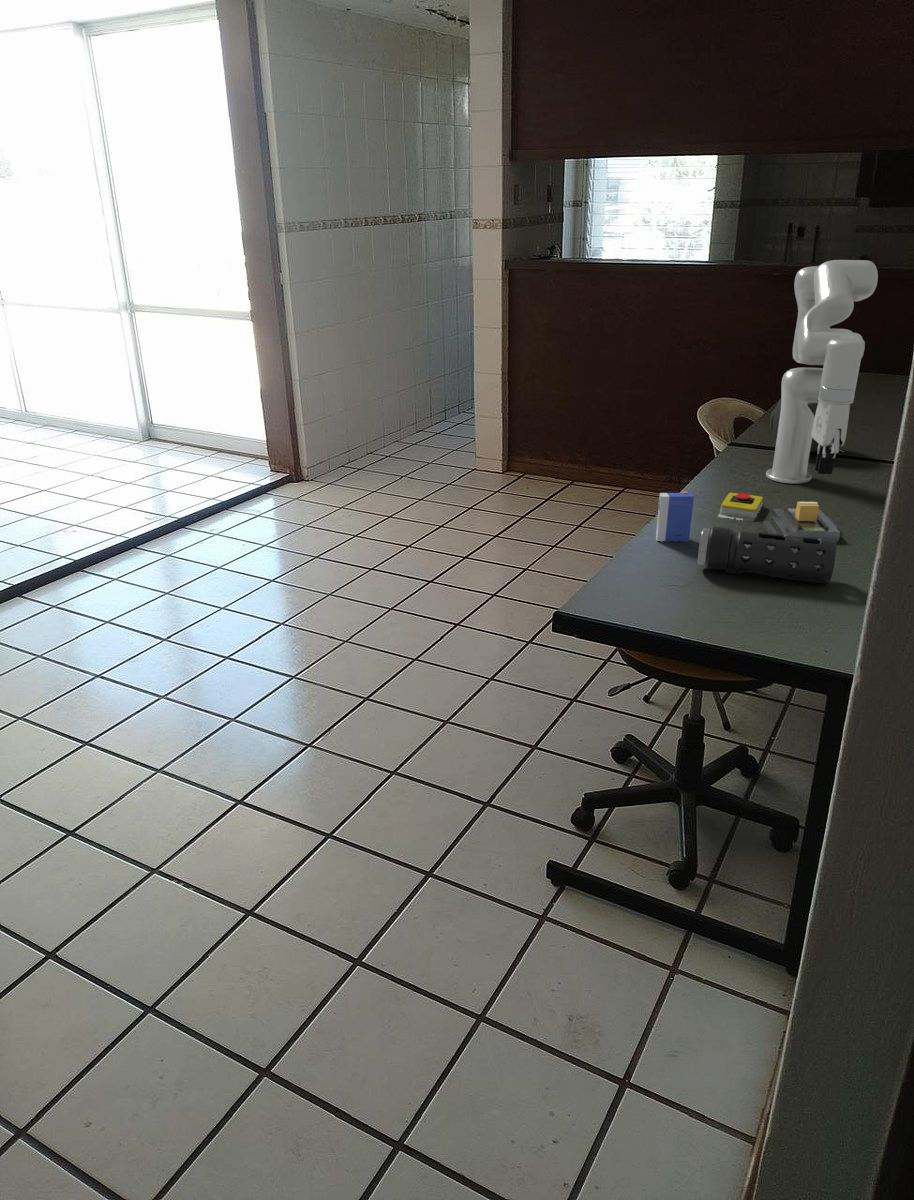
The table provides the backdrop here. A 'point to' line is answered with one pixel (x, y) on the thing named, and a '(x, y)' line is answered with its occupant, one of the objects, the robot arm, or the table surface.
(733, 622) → the table surface
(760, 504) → the emergency button
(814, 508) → the cardboard box
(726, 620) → the table surface
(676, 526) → the walkman
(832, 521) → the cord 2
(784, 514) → the panel
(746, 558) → the muzzle brake
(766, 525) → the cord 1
